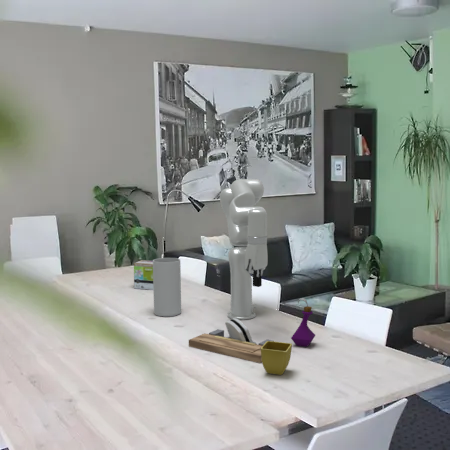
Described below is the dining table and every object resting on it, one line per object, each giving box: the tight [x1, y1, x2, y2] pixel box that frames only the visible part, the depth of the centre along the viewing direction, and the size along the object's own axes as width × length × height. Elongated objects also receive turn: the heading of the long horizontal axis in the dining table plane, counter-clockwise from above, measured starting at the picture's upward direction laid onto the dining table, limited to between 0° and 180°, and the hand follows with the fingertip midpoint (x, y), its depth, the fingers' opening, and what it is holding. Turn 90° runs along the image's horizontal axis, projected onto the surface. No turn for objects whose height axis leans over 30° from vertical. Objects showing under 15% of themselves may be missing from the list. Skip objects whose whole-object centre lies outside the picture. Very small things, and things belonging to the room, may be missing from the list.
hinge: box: [224, 318, 257, 344], centre depth 222 cm, size 17×5×10 cm, turn 21°
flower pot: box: [261, 340, 293, 376], centre depth 190 cm, size 9×9×9 cm
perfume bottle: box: [290, 297, 316, 348], centre depth 217 cm, size 8×8×18 cm
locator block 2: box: [257, 339, 275, 346], centre depth 212 cm, size 6×3×3 cm, turn 144°
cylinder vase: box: [152, 257, 182, 318], centre depth 263 cm, size 12×12×25 cm
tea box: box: [133, 259, 154, 291], centre depth 317 cm, size 15×10×15 cm, turn 73°
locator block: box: [208, 329, 225, 337], centre depth 226 cm, size 6×3×3 cm, turn 144°
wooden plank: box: [188, 333, 262, 364], centre depth 212 cm, size 10×32×3 cm, turn 54°
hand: (257, 286), depth 227 cm, fingers closed
